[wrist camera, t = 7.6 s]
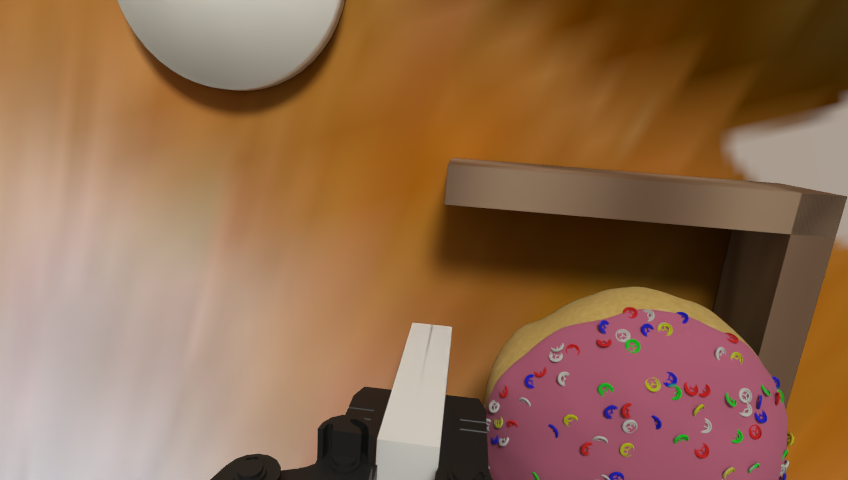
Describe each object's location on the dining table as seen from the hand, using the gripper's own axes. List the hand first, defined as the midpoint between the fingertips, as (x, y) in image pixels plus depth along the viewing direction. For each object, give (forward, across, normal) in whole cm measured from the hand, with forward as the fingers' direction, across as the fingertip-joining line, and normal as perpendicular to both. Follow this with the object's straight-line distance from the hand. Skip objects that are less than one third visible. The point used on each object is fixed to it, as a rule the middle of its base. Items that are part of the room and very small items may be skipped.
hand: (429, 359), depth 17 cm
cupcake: (+2, +6, 0) cm, 6 cm away
